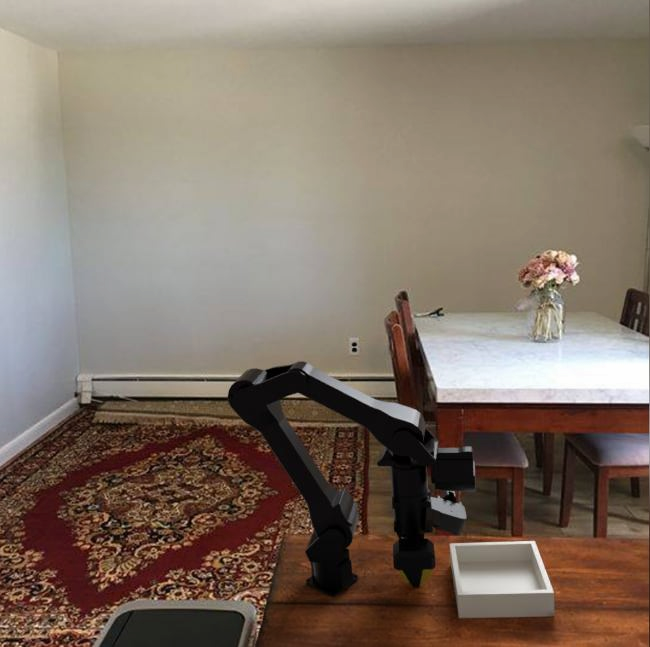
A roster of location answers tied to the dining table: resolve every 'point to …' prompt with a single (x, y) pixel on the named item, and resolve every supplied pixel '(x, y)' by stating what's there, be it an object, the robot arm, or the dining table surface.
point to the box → (500, 580)
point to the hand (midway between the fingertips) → (415, 576)
